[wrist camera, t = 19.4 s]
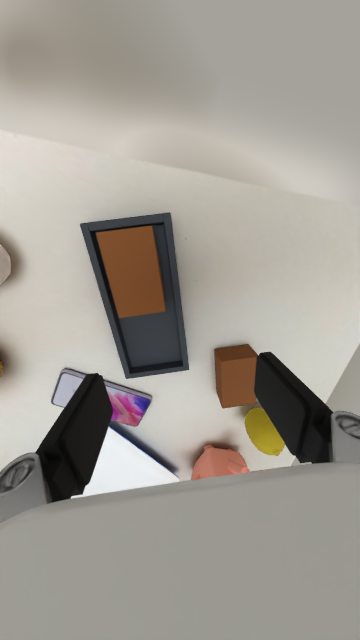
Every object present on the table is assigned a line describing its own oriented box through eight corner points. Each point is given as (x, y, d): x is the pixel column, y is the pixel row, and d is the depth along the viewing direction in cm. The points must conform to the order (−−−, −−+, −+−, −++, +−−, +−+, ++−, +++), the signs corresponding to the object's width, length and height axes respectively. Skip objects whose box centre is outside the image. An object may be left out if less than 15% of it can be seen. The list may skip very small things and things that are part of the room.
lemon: (248, 394, 31) (273, 438, 24) (272, 402, 32) (303, 447, 25) (232, 415, 33) (251, 462, 25) (256, 422, 34) (280, 469, 27)
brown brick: (216, 392, 30) (222, 408, 27) (214, 348, 27) (220, 361, 24) (246, 387, 30) (256, 403, 27) (248, 343, 27) (259, 356, 24)
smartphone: (60, 370, 25) (153, 399, 29) (63, 366, 26) (153, 395, 30) (48, 404, 27) (137, 428, 31) (52, 400, 28) (137, 423, 32)
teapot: (177, 444, 35) (182, 516, 25) (233, 428, 34) (259, 495, 25) (197, 480, 40) (206, 550, 31) (246, 467, 40) (270, 534, 30)
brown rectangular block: (125, 309, 23) (118, 318, 20) (107, 235, 20) (95, 232, 16) (165, 303, 23) (165, 311, 20) (154, 229, 20) (151, 225, 17)
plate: (180, 469, 38) (180, 481, 36) (105, 508, 42) (102, 520, 40) (107, 413, 30) (103, 424, 29) (24, 466, 34) (15, 479, 32)
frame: (128, 370, 27) (125, 379, 26) (87, 226, 20) (79, 223, 18) (187, 362, 28) (189, 370, 26) (169, 216, 20) (170, 212, 18)
